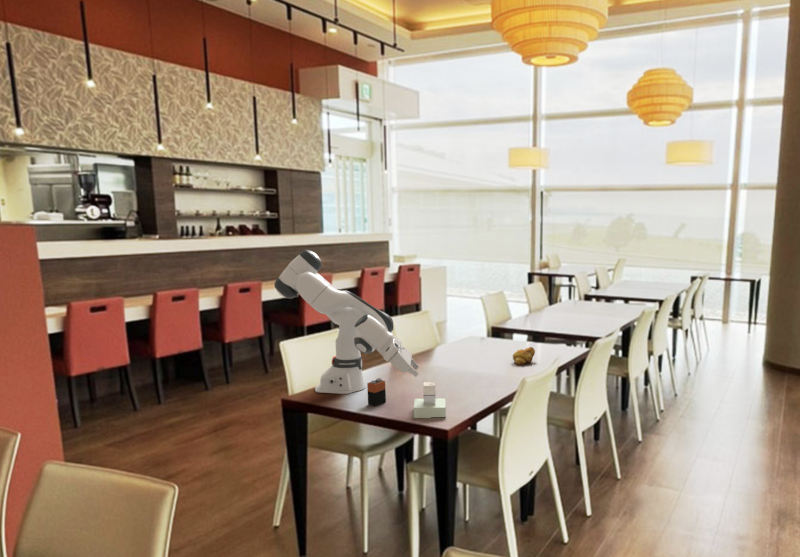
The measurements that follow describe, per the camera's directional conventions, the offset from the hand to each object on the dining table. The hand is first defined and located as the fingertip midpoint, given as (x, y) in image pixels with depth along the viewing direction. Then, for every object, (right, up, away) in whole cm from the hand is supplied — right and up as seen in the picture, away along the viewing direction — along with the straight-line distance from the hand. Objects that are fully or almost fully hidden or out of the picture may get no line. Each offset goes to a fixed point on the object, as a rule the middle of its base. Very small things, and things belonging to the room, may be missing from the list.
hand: (417, 371), depth 213 cm
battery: (-16, -16, +14) cm, 27 cm away
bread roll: (+56, -8, +72) cm, 92 cm away
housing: (+5, -12, 0) cm, 13 cm away
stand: (+5, -16, 0) cm, 17 cm away
